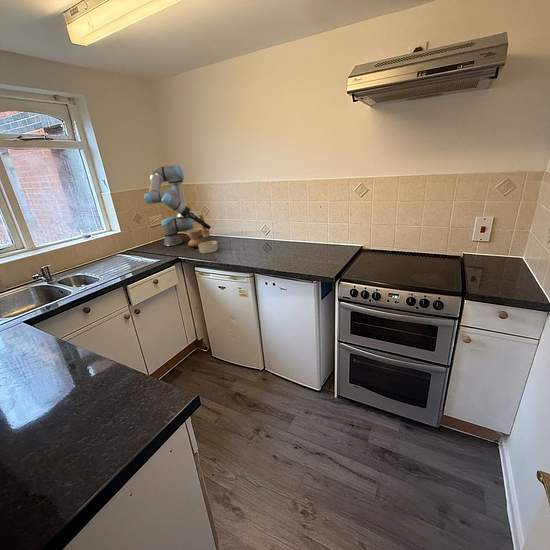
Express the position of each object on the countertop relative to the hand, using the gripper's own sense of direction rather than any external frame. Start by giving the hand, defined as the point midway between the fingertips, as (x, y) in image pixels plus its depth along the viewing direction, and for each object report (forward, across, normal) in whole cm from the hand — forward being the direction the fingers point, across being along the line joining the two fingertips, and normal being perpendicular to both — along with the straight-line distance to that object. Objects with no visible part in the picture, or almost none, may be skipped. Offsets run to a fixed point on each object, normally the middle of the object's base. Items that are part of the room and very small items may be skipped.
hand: (209, 227), depth 227 cm
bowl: (+10, 0, -15) cm, 18 cm away
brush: (+2, 0, -6) cm, 6 cm away
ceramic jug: (+9, -21, -17) cm, 28 cm away
